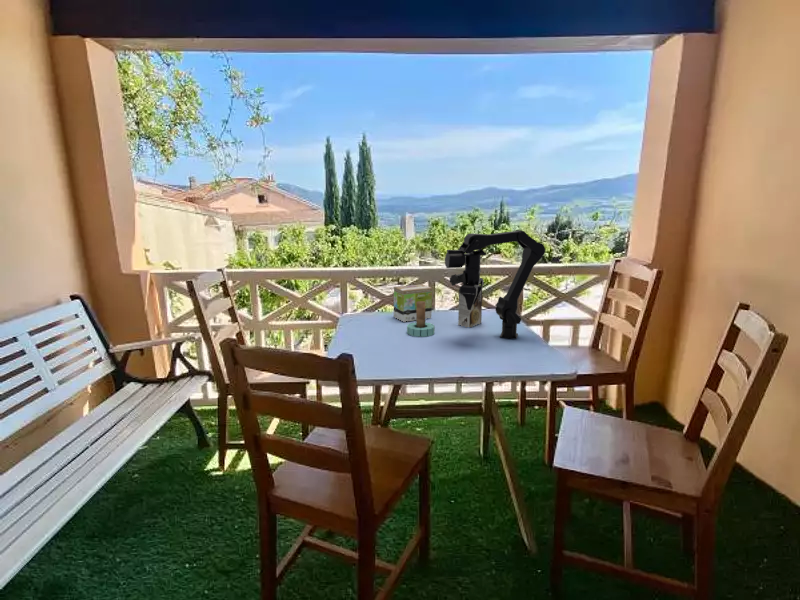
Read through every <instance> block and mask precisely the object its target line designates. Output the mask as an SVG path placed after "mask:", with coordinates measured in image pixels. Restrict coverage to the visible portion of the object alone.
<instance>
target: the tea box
mask: <svg viewBox="0 0 800 600" xmlns="http://www.w3.org/2000/svg"><path fill="white" fill-rule="evenodd" d="M418 301H424V302H425V320H428V319H427V318H430V319H432V310H433V287H431V286H428V285H424V284H420V283H419V284H411V285H404V286H403V285H401V286H394V287H393V318H394V317H395V319H396V318H397V319H396V320H398V319H399V320H398V321H400V320H401V321H400V322H402V321H403V322H402V323H406V321H407V322H412V321H416V302H418Z"/></svg>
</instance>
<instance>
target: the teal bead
mask: <svg viewBox="0 0 800 600" xmlns="http://www.w3.org/2000/svg"><path fill="white" fill-rule="evenodd" d="M435 328H436V327H435V325H434V323H430V322H426V321H425V328H417V327H416V322H412V323H411V322H410V323H408V324H407V326H406V334H407V335H408V334H409V336H412V337H416V338H417V337H418V338H427V337H431V336H434V334H435Z"/></svg>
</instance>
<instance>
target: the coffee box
mask: <svg viewBox="0 0 800 600" xmlns="http://www.w3.org/2000/svg"><path fill="white" fill-rule="evenodd" d="M482 312H483V288H482V289H481V292H480V294H479V296H478V298H477V301H476V303H475V304H473V305H472V308H471V310H468V309H467V304H466V300H465V297H464V296H463V295H462V294H461V293H459V292H458V313H457V314H458V316H457V317H458V318H457V320H458V321H457V323H458V324H457V325H458V326H459V325H461V326H460V327H463V326H465V327H464V328H467V327H471V328H474V327H476V326H478V325H477V324H479V325H481V324H482V318H483V317H482V315H483V313H482ZM480 323H481V324H480ZM475 325H476V326H475ZM473 326H474V327H473Z"/></svg>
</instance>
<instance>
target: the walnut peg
mask: <svg viewBox="0 0 800 600" xmlns="http://www.w3.org/2000/svg"><path fill="white" fill-rule="evenodd" d="M415 321H416V327H417V328H425V322H426V319H425V302H424V301H418V302H416V320H415Z"/></svg>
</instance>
